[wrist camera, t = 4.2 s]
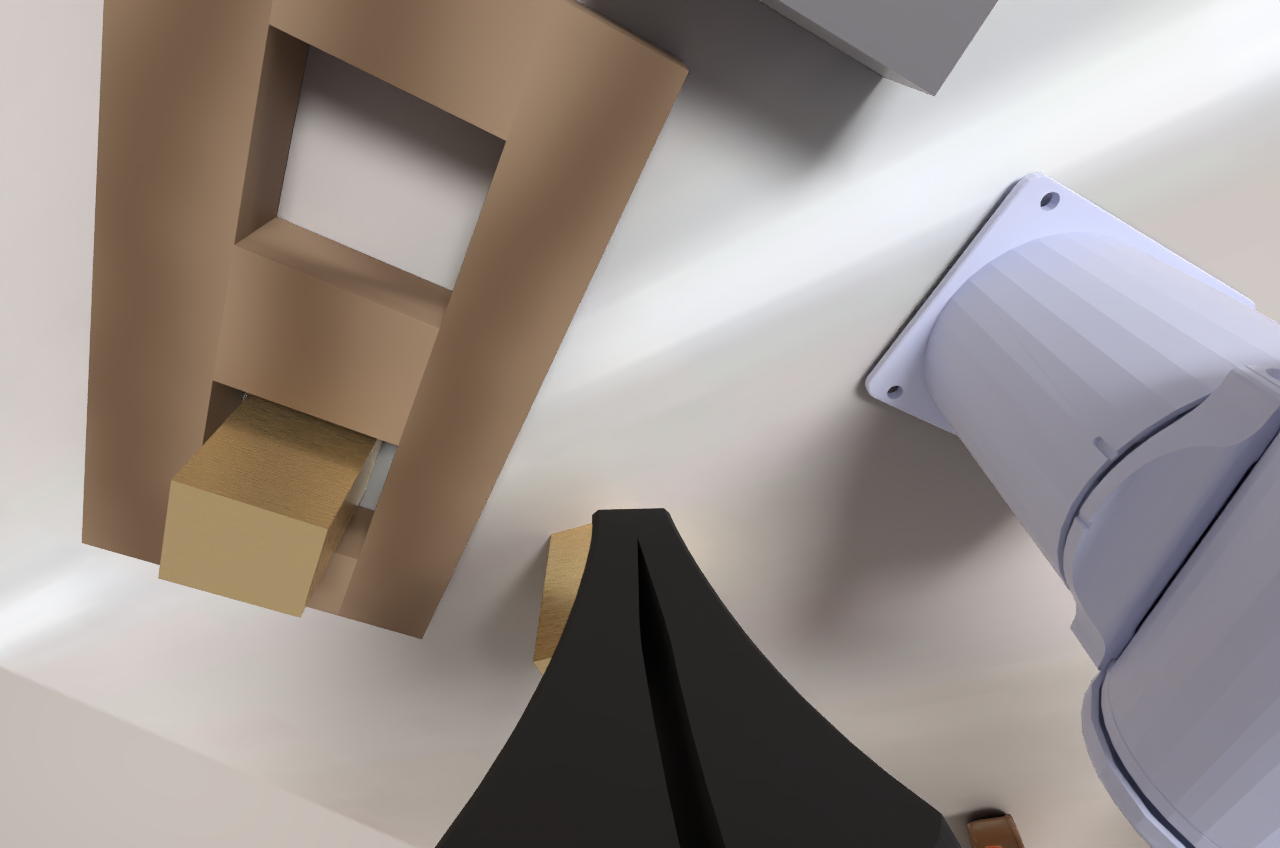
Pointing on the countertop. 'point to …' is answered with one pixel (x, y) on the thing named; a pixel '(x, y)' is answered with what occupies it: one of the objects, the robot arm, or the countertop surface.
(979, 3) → the button housing
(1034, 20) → the countertop surface
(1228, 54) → the countertop surface
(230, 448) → the block
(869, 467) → the countertop surface
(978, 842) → the tin
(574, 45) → the wooden socket board
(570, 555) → the loose billet
